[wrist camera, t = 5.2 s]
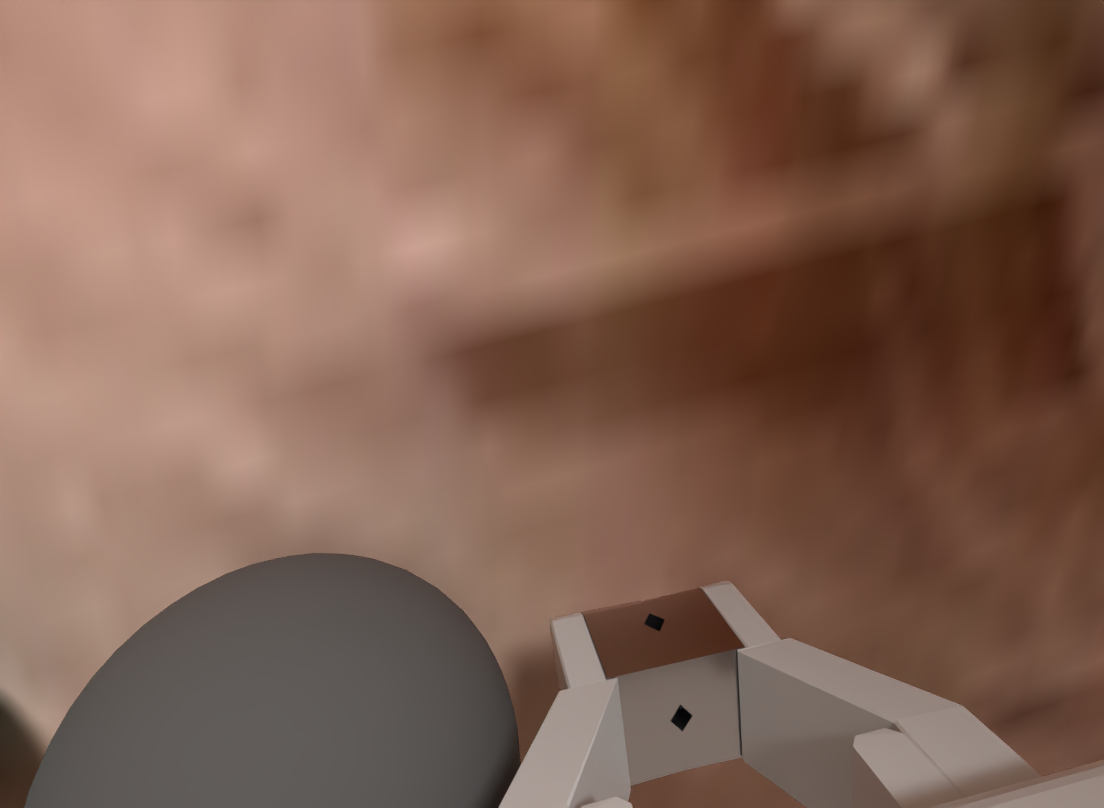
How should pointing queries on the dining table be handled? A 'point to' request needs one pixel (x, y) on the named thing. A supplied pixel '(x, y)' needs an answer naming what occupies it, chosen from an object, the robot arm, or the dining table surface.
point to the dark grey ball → (292, 700)
